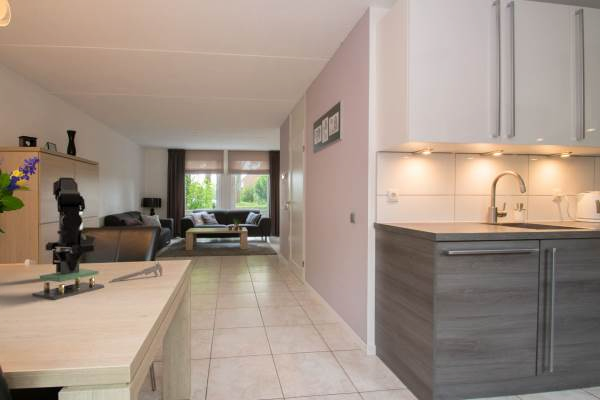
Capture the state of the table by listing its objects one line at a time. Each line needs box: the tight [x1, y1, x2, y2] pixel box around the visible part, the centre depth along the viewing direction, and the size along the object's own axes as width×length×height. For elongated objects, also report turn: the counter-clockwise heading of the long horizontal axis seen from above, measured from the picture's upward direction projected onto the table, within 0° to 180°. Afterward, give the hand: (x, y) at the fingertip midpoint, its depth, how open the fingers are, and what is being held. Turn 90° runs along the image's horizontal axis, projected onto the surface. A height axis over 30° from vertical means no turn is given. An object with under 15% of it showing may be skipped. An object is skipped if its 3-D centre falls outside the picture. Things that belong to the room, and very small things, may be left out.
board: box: [39, 259, 99, 283], centre depth 127 cm, size 11×14×6 cm
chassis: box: [31, 277, 105, 301], centre depth 127 cm, size 12×18×4 cm, turn 156°
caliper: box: [109, 262, 163, 283], centre depth 148 cm, size 20×1×6 cm, turn 128°
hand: (69, 270), depth 127 cm, fingers closed on board, 3 cm apart
